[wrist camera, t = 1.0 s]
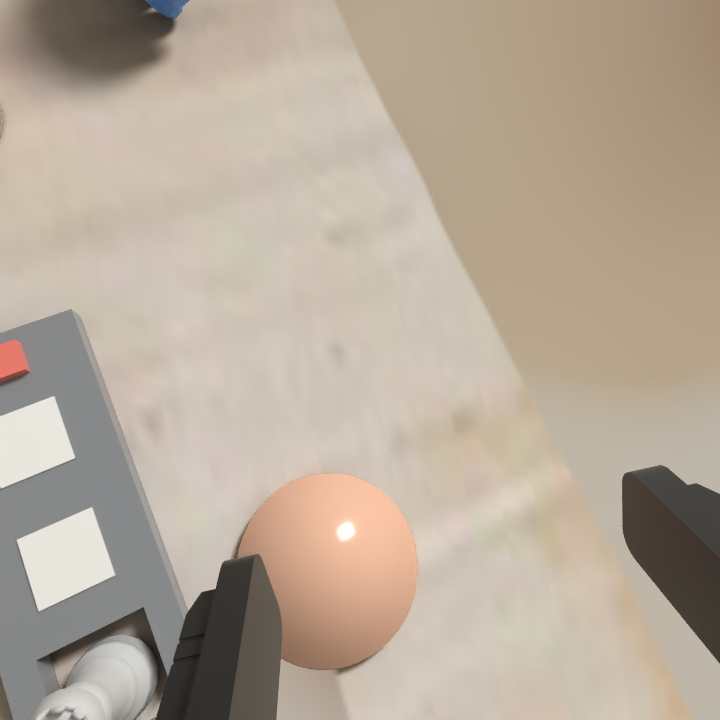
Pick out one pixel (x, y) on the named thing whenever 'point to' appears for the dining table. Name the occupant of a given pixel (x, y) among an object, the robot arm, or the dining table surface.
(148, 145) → the dining table surface
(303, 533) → the peach dome
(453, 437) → the dining table surface
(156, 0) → the grapes
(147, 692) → the rook chess piece
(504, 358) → the dining table surface
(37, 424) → the power strip
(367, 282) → the dining table surface
